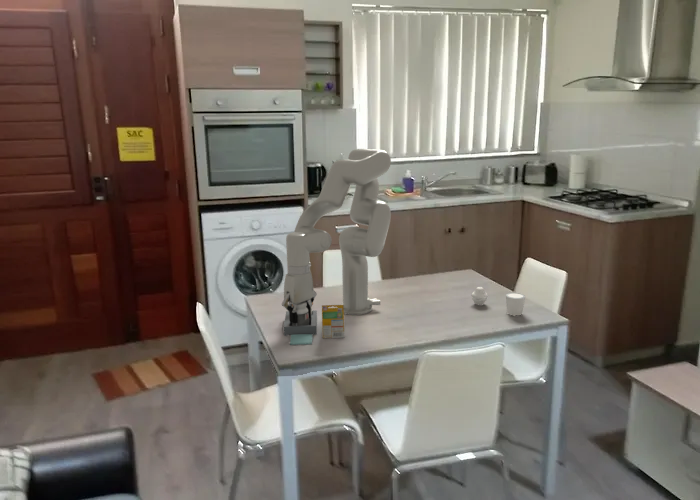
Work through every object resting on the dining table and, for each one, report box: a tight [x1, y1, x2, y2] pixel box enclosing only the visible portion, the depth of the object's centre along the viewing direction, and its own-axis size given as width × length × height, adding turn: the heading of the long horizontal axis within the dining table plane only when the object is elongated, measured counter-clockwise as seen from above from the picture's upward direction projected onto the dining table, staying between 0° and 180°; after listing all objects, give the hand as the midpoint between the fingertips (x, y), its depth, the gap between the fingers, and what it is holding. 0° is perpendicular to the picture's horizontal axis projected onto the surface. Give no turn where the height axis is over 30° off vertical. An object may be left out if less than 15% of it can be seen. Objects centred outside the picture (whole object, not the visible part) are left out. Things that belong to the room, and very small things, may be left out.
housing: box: [283, 310, 318, 336], centre depth 195 cm, size 11×15×3 cm
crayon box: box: [321, 304, 345, 339], centre depth 185 cm, size 7×3×12 cm, turn 92°
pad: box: [289, 334, 313, 346], centre depth 184 cm, size 7×7×1 cm
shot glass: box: [505, 292, 526, 315], centre depth 205 cm, size 7×7×7 cm
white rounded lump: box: [471, 286, 489, 306], centre depth 215 cm, size 6×6×7 cm
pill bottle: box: [292, 301, 309, 326], centre depth 192 cm, size 6×6×10 cm
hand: (300, 319), depth 192 cm, fingers closed on pill bottle, 5 cm apart
